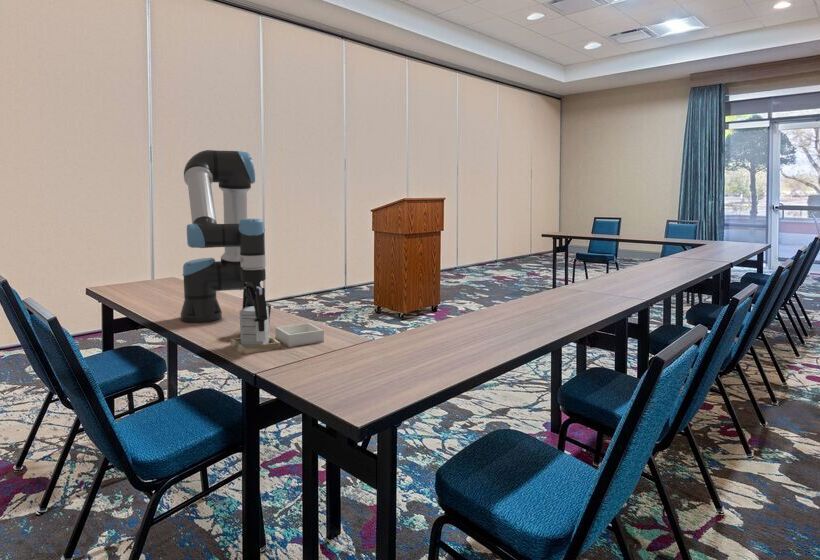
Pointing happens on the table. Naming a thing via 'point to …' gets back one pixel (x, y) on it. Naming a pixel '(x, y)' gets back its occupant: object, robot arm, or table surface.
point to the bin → (299, 334)
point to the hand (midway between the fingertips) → (255, 337)
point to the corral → (257, 348)
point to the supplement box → (251, 327)
